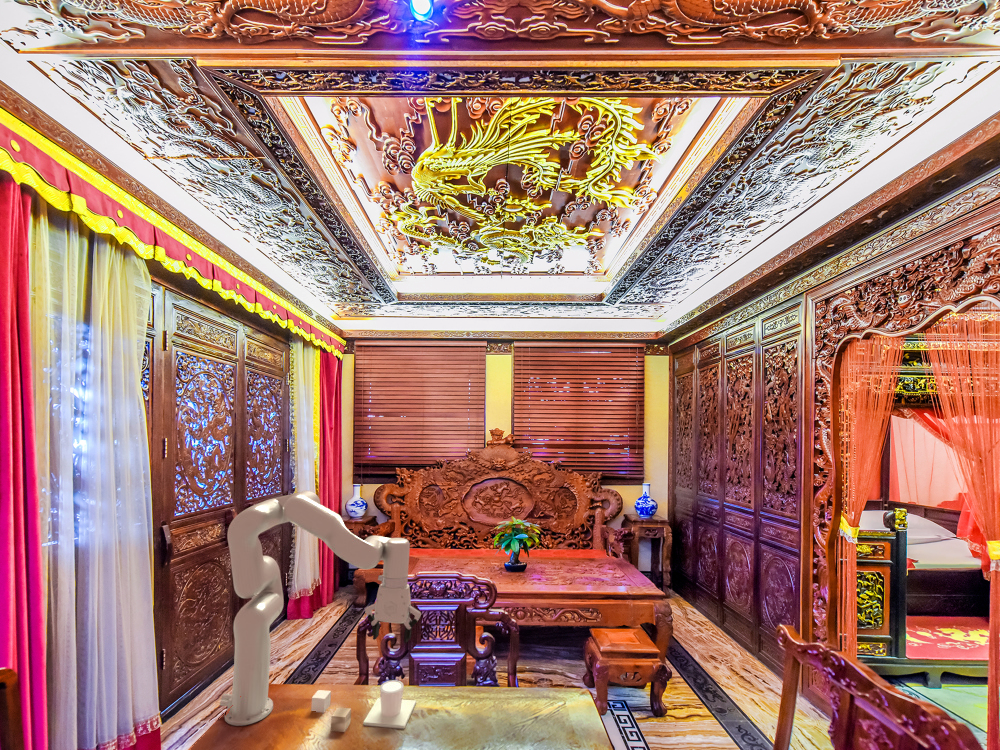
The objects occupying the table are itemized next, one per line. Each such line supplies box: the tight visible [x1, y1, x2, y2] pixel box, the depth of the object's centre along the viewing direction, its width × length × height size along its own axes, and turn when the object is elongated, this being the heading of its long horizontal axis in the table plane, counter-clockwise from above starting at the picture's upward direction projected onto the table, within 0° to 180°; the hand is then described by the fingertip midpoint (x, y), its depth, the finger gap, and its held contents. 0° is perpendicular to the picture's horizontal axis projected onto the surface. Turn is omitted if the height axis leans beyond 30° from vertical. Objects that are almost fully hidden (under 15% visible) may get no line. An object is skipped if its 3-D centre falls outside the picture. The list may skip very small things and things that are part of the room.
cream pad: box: [362, 697, 417, 730], centre depth 141 cm, size 12×12×1 cm
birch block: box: [330, 706, 352, 733], centre depth 135 cm, size 4×4×4 cm
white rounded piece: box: [379, 679, 405, 717], centre depth 141 cm, size 7×7×7 cm
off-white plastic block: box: [310, 689, 332, 714], centre depth 143 cm, size 4×4×4 cm
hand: (391, 639), depth 144 cm, fingers open, 9 cm apart
